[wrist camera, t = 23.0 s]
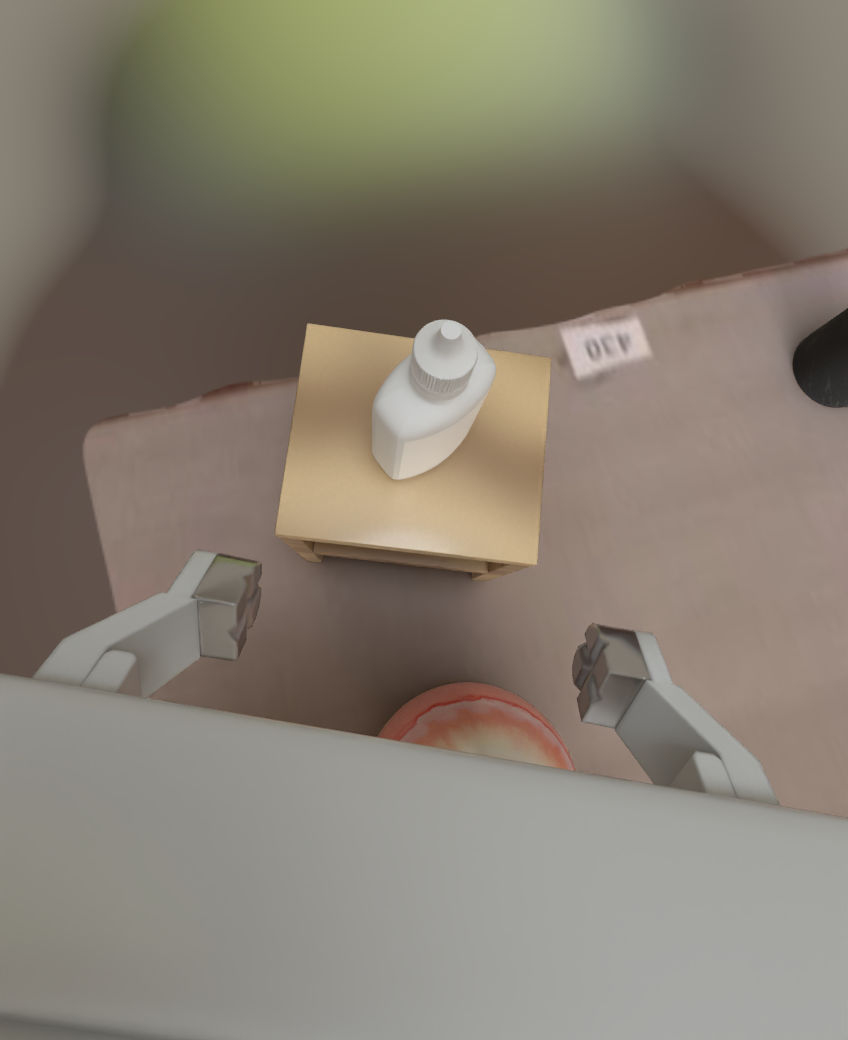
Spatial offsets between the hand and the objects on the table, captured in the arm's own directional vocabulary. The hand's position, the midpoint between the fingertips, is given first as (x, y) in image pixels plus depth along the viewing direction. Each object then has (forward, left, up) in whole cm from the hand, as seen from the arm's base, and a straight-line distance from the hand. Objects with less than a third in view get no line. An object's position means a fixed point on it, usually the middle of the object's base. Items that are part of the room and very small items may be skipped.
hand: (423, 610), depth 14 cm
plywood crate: (+9, 0, -30) cm, 31 cm away
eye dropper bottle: (+10, 0, -16) cm, 19 cm away
